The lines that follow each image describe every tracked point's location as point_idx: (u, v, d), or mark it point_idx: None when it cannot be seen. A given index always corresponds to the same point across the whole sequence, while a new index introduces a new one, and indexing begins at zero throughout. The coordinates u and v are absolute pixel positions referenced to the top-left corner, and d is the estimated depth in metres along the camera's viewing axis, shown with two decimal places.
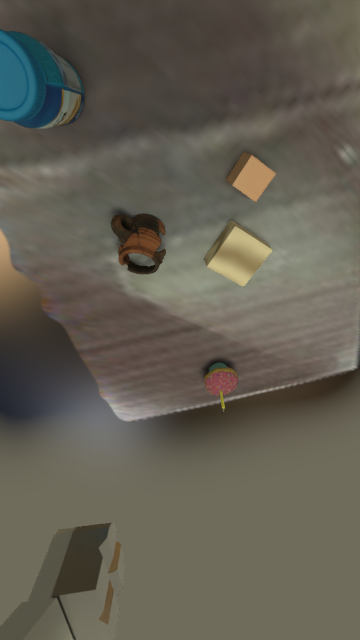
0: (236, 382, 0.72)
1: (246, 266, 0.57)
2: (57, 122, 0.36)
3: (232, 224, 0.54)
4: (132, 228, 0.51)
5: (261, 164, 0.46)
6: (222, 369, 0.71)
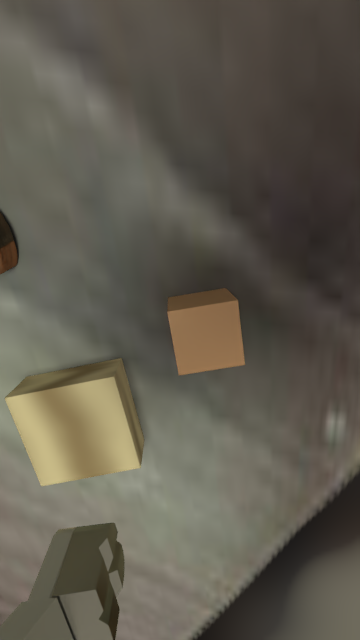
0: None
1: (76, 458, 0.25)
2: None
3: (114, 368, 0.25)
4: None
5: (238, 329, 0.21)
6: None
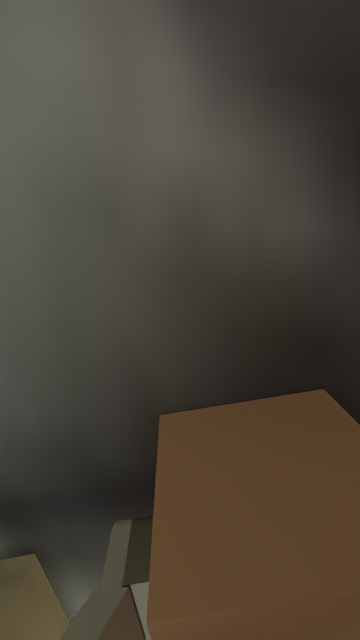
0: None
1: None
2: None
3: None
4: None
5: None
6: None
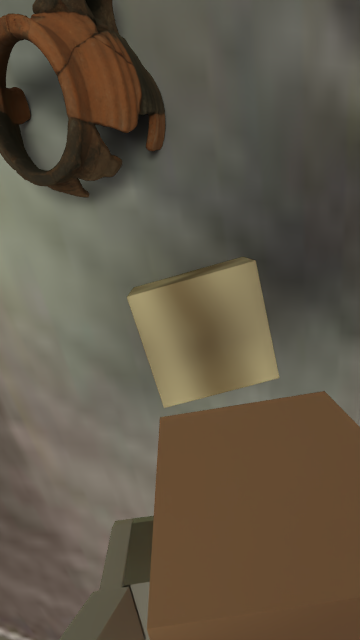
0: None
1: (205, 370, 0.22)
2: None
3: (245, 259, 0.21)
4: (98, 21, 0.15)
5: None
6: None
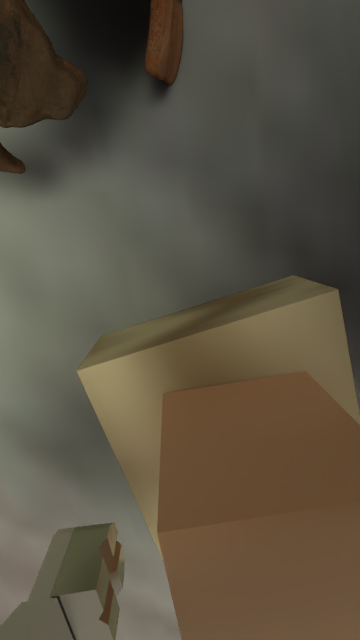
0: None
1: None
2: None
3: (307, 284, 0.11)
4: None
5: None
6: None
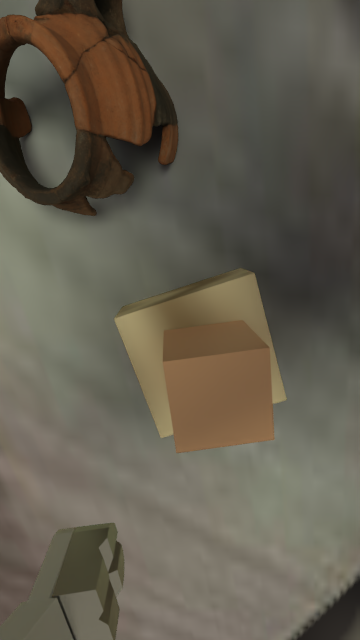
0: None
1: None
2: None
3: (243, 271, 0.19)
4: (108, 24, 0.14)
5: (267, 389, 0.14)
6: None
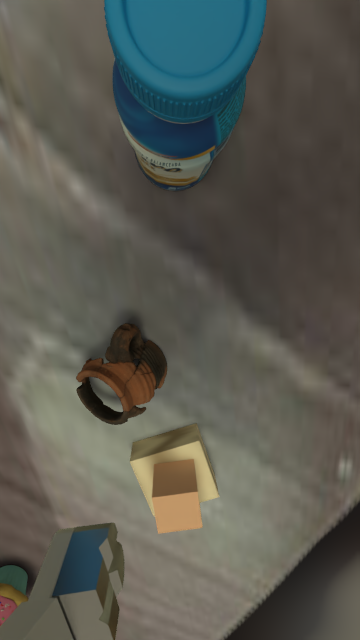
0: None
1: None
2: (160, 165, 0.21)
3: (195, 433, 0.38)
4: (135, 355, 0.32)
5: (197, 507, 0.32)
6: (15, 596, 0.40)
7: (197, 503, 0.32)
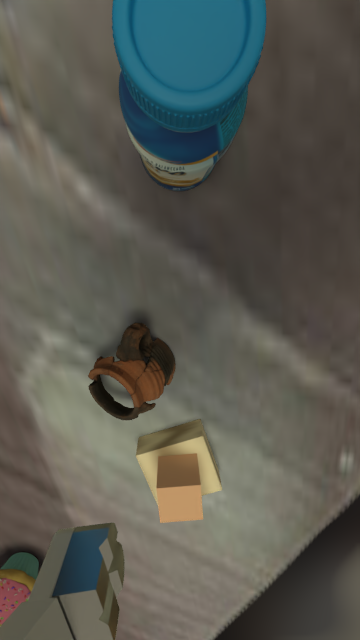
0: None
1: None
2: (164, 169, 0.22)
3: (199, 428, 0.39)
4: (145, 353, 0.33)
5: (199, 500, 0.34)
6: (28, 581, 0.42)
7: (199, 496, 0.34)
